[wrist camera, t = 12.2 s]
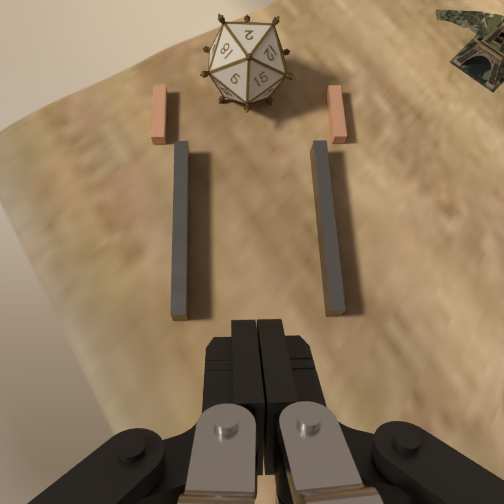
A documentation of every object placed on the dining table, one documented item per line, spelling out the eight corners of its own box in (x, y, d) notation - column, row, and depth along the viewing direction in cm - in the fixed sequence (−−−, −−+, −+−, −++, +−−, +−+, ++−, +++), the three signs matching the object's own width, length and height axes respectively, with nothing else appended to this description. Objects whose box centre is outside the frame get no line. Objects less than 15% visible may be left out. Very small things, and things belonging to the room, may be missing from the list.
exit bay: (337, 93, 47) (340, 85, 46) (344, 143, 45) (347, 136, 44) (155, 92, 46) (153, 84, 45) (153, 144, 44) (151, 136, 43)
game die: (225, 112, 50) (169, 30, 44) (291, 65, 49) (244, -27, 43) (250, 149, 44) (188, 59, 37) (326, 95, 43) (277, -8, 36)
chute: (322, 152, 45) (326, 140, 43) (340, 315, 39) (345, 310, 37) (176, 153, 44) (174, 141, 42) (173, 320, 38) (170, 315, 36)
